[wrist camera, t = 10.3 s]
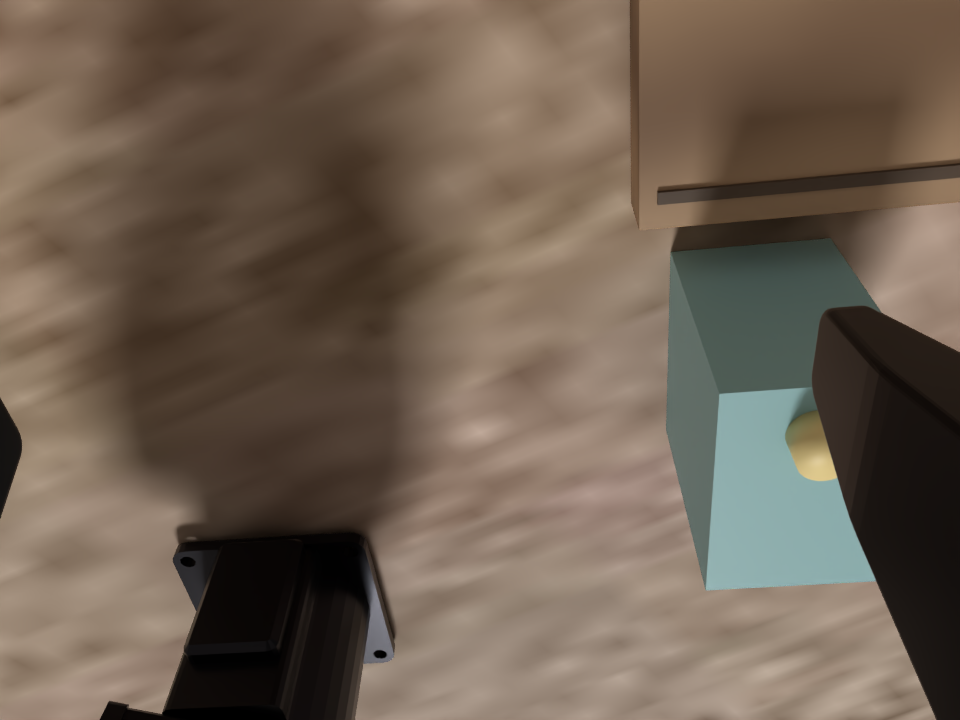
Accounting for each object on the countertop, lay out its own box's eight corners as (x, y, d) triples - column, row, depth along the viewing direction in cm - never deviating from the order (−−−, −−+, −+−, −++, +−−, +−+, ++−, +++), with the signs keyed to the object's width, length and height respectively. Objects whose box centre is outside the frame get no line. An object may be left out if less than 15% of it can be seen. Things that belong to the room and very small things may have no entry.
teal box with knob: (803, 419, 25) (890, 608, 19) (665, 429, 25) (712, 618, 20) (829, 237, 21) (944, 404, 16) (670, 250, 22) (728, 419, 16)
